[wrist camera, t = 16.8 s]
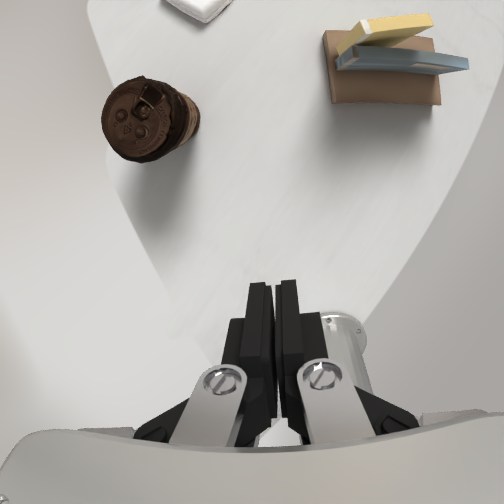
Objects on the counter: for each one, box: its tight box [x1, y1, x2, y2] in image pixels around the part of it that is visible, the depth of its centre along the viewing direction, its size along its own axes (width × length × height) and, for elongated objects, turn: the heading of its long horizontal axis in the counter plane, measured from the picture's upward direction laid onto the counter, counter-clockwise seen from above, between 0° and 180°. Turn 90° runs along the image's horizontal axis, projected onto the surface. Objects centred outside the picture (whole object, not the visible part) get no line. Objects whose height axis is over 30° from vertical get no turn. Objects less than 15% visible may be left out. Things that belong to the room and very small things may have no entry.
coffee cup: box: [101, 76, 200, 163], centre depth 30 cm, size 9×8×13 cm
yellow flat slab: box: [336, 14, 434, 56], centre depth 23 cm, size 1×7×10 cm, turn 110°
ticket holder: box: [323, 30, 469, 105], centre depth 27 cm, size 9×14×10 cm, turn 97°
